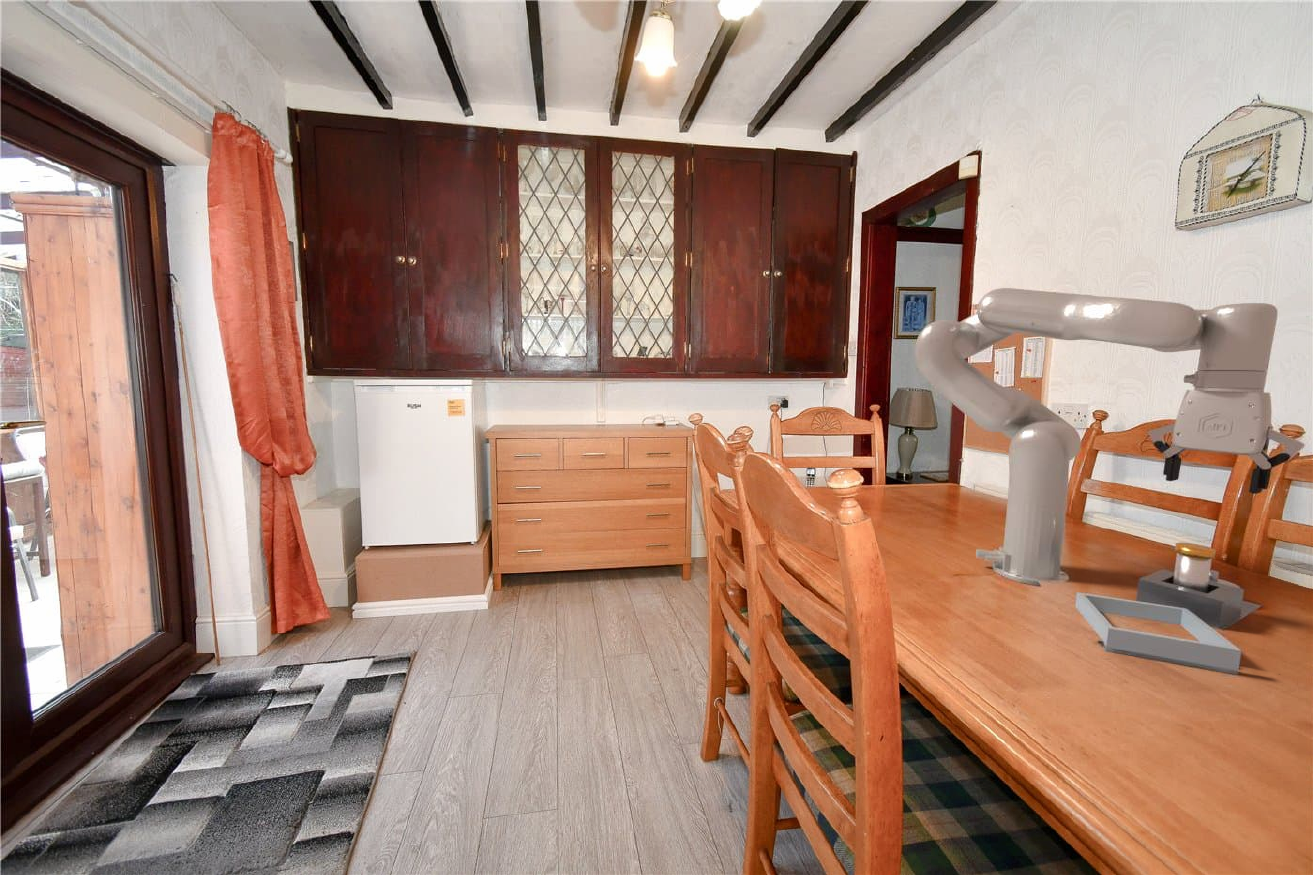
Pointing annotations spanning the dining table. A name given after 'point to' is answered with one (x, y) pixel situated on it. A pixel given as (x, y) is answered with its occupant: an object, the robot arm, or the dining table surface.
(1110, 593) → the dining table surface
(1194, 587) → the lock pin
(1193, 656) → the gray square frame
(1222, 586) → the dark grey slotted base
